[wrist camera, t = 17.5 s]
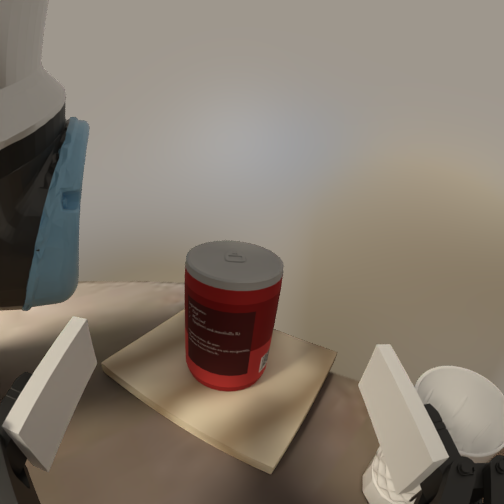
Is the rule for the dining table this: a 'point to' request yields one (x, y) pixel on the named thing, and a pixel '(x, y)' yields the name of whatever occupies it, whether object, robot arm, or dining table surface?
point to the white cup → (449, 424)
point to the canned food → (230, 312)
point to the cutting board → (222, 402)
